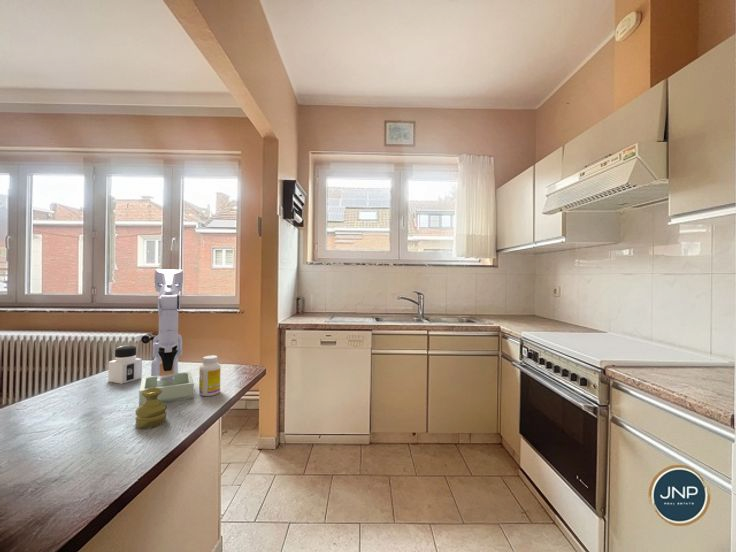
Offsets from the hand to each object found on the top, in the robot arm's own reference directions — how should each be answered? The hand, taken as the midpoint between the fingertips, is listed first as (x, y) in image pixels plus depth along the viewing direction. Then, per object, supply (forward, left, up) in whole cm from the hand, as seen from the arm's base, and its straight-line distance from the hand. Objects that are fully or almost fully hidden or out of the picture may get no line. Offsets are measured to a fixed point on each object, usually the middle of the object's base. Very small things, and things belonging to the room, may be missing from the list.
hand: (167, 369), depth 113 cm
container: (-29, +1, -9) cm, 30 cm away
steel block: (0, 0, -8) cm, 8 cm away
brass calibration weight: (+17, -14, -9) cm, 24 cm away
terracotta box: (0, 0, -2) cm, 2 cm away
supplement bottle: (+11, +9, -9) cm, 17 cm away
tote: (0, 0, -9) cm, 9 cm away
